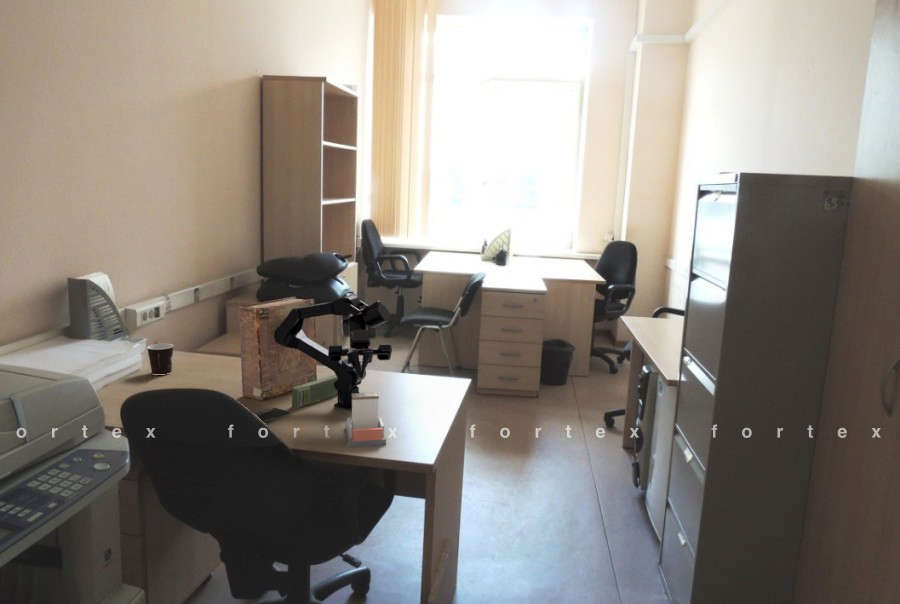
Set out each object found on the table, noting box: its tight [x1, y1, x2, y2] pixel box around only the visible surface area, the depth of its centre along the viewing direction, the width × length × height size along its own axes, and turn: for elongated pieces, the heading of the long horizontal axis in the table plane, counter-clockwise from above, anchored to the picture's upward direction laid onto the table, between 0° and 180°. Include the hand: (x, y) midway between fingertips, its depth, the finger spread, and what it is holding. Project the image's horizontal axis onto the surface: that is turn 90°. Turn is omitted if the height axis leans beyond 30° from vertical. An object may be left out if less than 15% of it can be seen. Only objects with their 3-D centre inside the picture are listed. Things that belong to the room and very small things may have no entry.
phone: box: [255, 407, 291, 425], centre depth 189 cm, size 8×1×15 cm
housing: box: [344, 415, 387, 448], centre depth 178 cm, size 14×10×4 cm
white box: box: [351, 392, 380, 430], centre depth 178 cm, size 3×7×10 cm, turn 103°
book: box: [238, 296, 318, 402], centre depth 215 cm, size 25×9×30 cm, turn 149°
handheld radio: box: [291, 374, 338, 409], centre depth 209 cm, size 7×3×25 cm
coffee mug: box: [146, 343, 174, 374], centre depth 229 cm, size 12×9×10 cm
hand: (361, 377), depth 187 cm, fingers closed
